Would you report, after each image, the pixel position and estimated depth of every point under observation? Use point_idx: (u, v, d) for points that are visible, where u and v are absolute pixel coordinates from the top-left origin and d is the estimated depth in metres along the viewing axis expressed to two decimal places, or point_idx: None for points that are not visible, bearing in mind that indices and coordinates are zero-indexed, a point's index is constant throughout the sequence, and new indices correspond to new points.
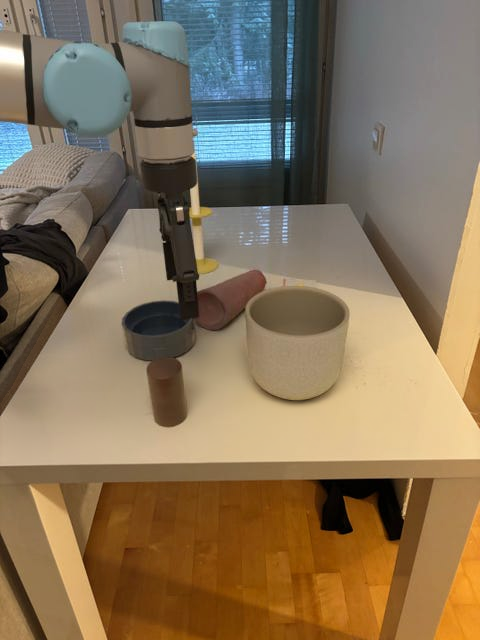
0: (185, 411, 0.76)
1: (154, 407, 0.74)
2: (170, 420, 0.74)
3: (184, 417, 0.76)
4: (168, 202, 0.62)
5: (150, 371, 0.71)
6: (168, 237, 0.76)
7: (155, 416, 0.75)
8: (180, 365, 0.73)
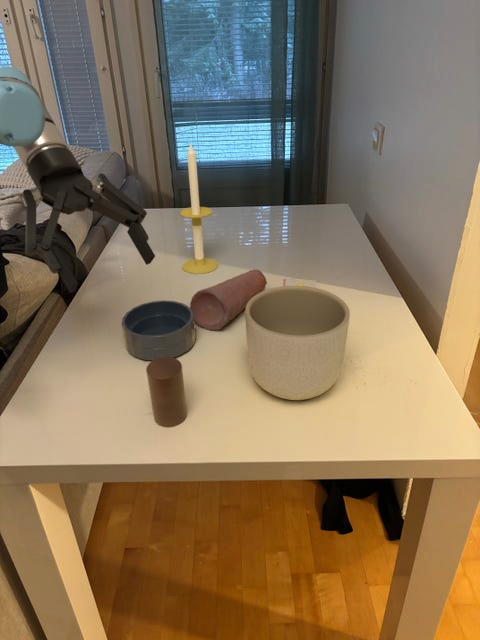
0: (185, 411, 0.76)
1: (154, 407, 0.74)
2: (170, 420, 0.74)
3: (184, 417, 0.76)
4: (86, 178, 0.75)
5: (150, 371, 0.71)
6: None
7: (155, 416, 0.75)
8: (180, 365, 0.73)
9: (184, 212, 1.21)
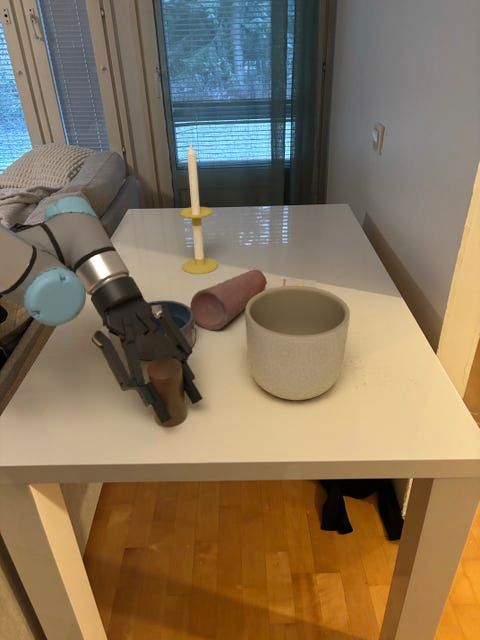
0: (185, 411, 0.76)
1: None
2: (170, 420, 0.74)
3: (184, 417, 0.76)
4: (146, 302, 0.76)
5: (150, 371, 0.71)
6: None
7: (155, 416, 0.75)
8: (180, 365, 0.73)
9: (184, 212, 1.21)
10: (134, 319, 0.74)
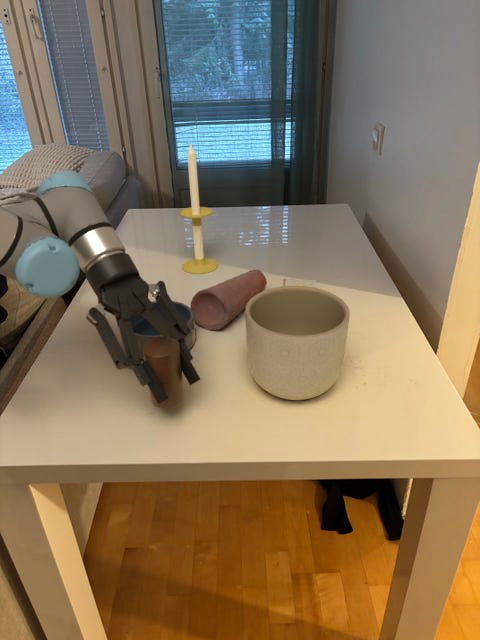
0: (182, 392, 0.74)
1: None
2: (167, 401, 0.72)
3: (181, 398, 0.74)
4: (143, 280, 0.74)
5: (146, 350, 0.69)
6: None
7: (151, 397, 0.73)
8: (177, 344, 0.71)
9: (184, 212, 1.21)
10: (130, 297, 0.72)
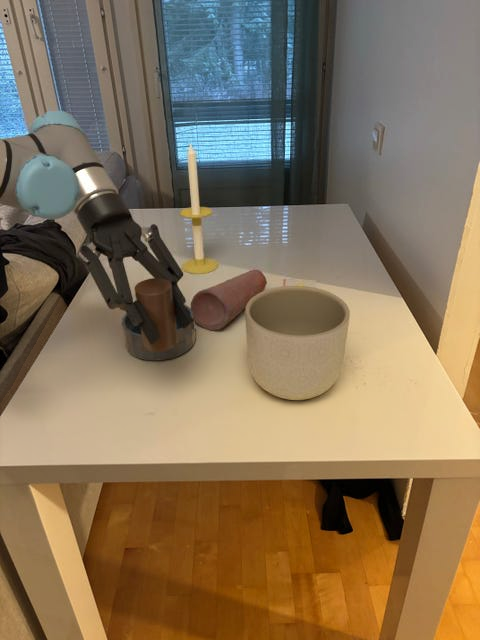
0: (175, 336, 0.74)
1: None
2: (160, 343, 0.72)
3: (174, 342, 0.73)
4: (135, 222, 0.74)
5: (138, 289, 0.69)
6: None
7: (144, 340, 0.73)
8: (170, 284, 0.70)
9: (184, 212, 1.21)
10: (122, 238, 0.71)
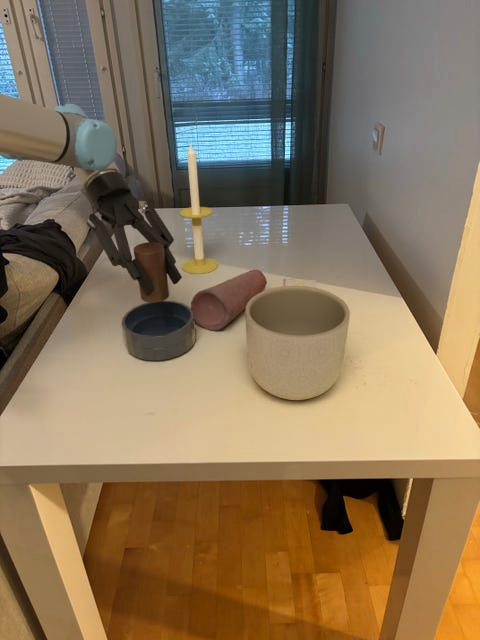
0: (167, 290, 0.89)
1: None
2: (154, 295, 0.87)
3: (166, 295, 0.89)
4: (134, 197, 0.89)
5: (137, 250, 0.84)
6: None
7: (141, 293, 0.88)
8: (162, 246, 0.85)
9: (184, 212, 1.21)
10: (123, 209, 0.87)
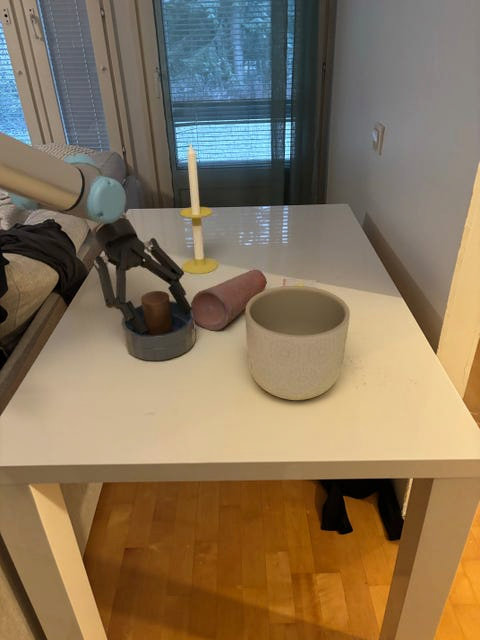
0: None
1: (147, 330, 0.93)
2: None
3: None
4: (140, 240, 0.94)
5: (144, 300, 0.90)
6: None
7: None
8: (168, 296, 0.91)
9: (184, 212, 1.21)
10: (130, 252, 0.92)
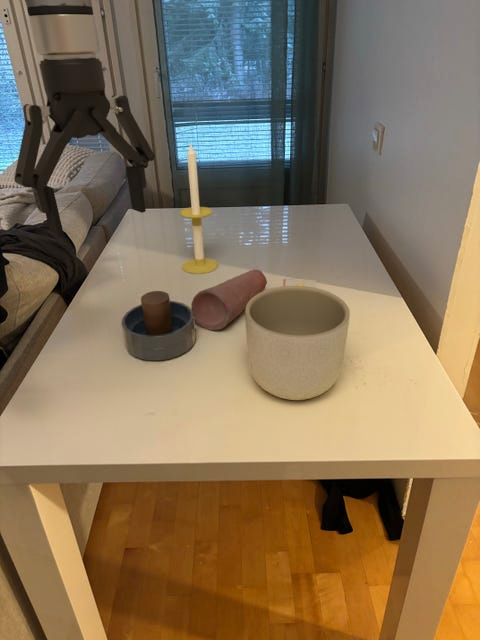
0: None
1: (147, 330, 0.93)
2: None
3: None
4: (106, 98, 0.62)
5: (144, 300, 0.90)
6: None
7: None
8: (168, 296, 0.91)
9: (184, 212, 1.21)
10: (86, 116, 0.61)
